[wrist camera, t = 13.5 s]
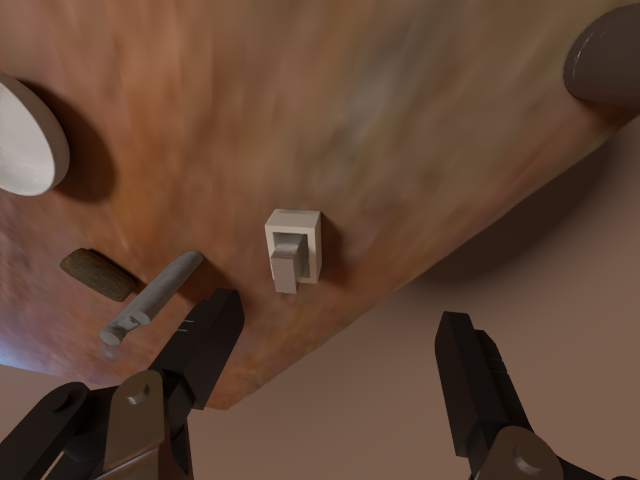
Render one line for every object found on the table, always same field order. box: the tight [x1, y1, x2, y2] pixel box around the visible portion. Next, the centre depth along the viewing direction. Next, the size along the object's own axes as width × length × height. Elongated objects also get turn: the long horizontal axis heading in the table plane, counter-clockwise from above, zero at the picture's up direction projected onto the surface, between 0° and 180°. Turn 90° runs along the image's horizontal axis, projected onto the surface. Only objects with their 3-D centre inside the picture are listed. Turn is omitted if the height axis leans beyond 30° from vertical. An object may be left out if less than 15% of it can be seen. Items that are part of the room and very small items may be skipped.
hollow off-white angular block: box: [265, 209, 322, 284], centre depth 51 cm, size 8×12×6 cm
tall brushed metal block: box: [271, 233, 309, 294], centre depth 48 cm, size 4×7×10 cm, turn 2°
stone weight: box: [60, 248, 138, 302], centre depth 64 cm, size 15×7×7 cm, turn 49°
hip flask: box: [99, 250, 204, 345], centre depth 55 cm, size 16×4×20 cm, turn 128°
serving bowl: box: [0, 71, 70, 196], centre depth 47 cm, size 21×21×7 cm
